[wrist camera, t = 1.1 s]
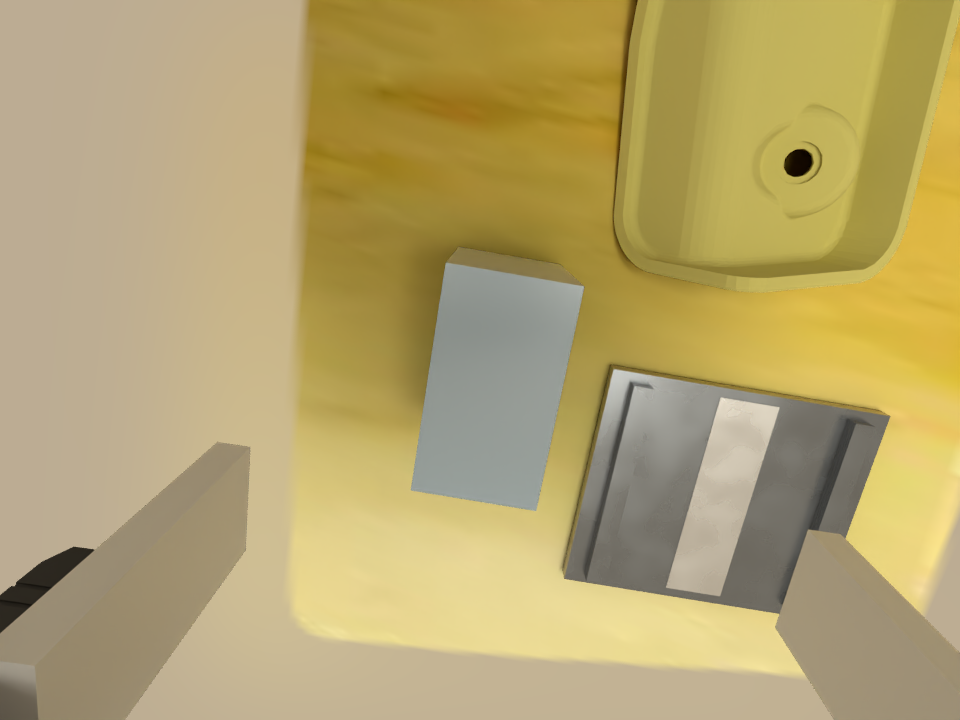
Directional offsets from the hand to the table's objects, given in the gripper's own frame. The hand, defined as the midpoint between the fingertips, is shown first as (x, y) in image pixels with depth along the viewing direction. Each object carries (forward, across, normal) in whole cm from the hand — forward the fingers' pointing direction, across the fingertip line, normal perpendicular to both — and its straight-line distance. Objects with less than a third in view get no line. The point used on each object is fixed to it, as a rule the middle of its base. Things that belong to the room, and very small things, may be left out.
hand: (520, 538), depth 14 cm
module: (+17, -1, 0) cm, 17 cm away
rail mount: (+17, +12, -6) cm, 21 cm away
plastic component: (+17, +10, +15) cm, 25 cm away
